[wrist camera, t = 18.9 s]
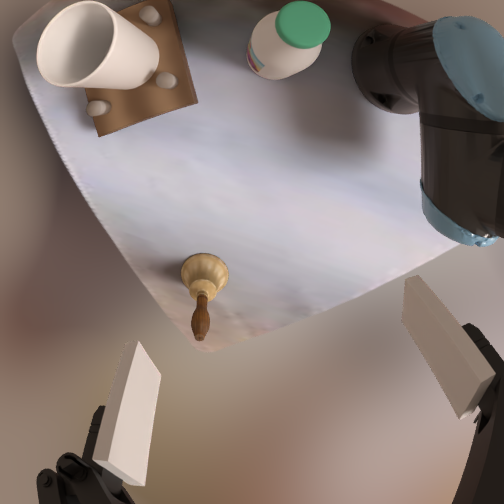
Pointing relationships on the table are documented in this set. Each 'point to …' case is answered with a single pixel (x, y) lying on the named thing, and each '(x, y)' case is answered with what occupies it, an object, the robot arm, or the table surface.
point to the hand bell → (203, 287)
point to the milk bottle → (287, 40)
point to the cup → (95, 49)
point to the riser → (161, 82)
